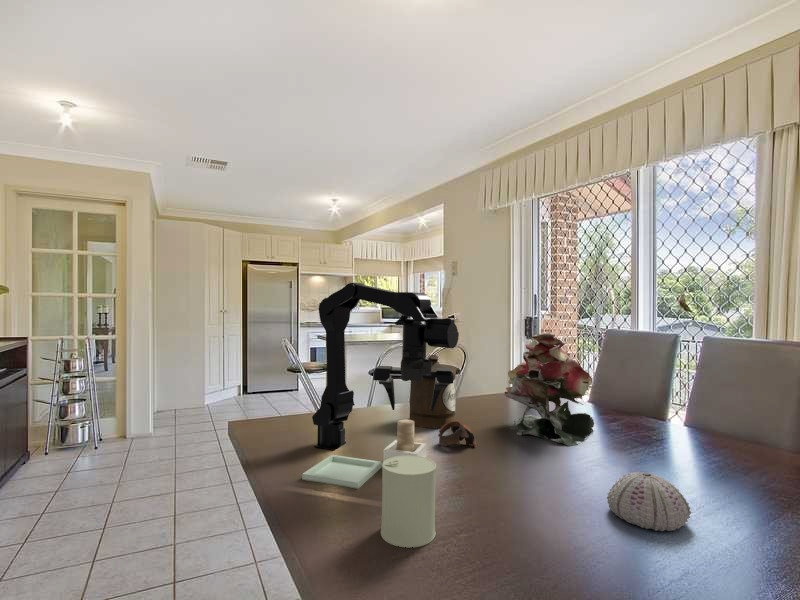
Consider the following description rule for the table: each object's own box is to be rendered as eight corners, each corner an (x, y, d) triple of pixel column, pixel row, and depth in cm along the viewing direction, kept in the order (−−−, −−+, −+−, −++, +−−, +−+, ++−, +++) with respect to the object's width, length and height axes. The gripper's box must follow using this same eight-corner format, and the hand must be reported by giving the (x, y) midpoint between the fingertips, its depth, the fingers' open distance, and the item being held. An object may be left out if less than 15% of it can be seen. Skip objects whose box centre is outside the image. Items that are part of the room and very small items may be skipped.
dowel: (394, 466, 104) (395, 423, 104) (400, 460, 108) (400, 418, 108) (410, 468, 102) (411, 424, 103) (416, 462, 106) (416, 420, 106)
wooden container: (457, 429, 139) (458, 357, 139) (409, 428, 139) (410, 357, 139) (452, 417, 154) (453, 352, 154) (409, 416, 154) (410, 352, 154)
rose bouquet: (597, 425, 146) (598, 333, 146) (579, 449, 121) (581, 338, 121) (519, 414, 159) (520, 329, 160) (489, 433, 135) (490, 333, 135)
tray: (302, 483, 95) (302, 473, 95) (331, 463, 107) (331, 454, 108) (358, 492, 91) (358, 482, 91) (381, 470, 103) (382, 461, 103)
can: (379, 520, 79) (380, 452, 80) (431, 519, 80) (431, 452, 80) (381, 548, 70) (382, 472, 70) (439, 547, 71) (441, 471, 71)
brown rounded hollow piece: (481, 456, 116) (467, 430, 114) (448, 469, 117) (434, 444, 116) (476, 431, 127) (464, 407, 126) (446, 444, 129) (433, 420, 127)
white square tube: (383, 471, 103) (383, 449, 103) (395, 460, 110) (395, 439, 110) (416, 476, 100) (416, 454, 100) (426, 464, 107) (426, 443, 107)
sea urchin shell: (655, 544, 73) (655, 494, 73) (590, 508, 86) (590, 466, 86) (707, 528, 78) (708, 482, 79) (639, 497, 91) (639, 458, 91)
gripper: (370, 347, 100) (368, 417, 100) (454, 350, 98) (453, 421, 98) (377, 342, 111) (375, 405, 111) (453, 345, 109) (451, 409, 109)
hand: (412, 410), depth 107 cm, fingers open, 9 cm apart
